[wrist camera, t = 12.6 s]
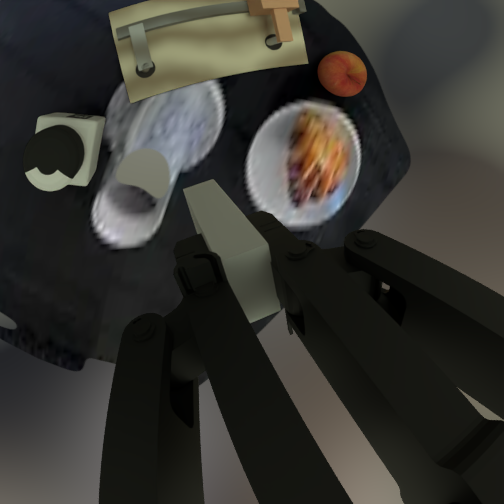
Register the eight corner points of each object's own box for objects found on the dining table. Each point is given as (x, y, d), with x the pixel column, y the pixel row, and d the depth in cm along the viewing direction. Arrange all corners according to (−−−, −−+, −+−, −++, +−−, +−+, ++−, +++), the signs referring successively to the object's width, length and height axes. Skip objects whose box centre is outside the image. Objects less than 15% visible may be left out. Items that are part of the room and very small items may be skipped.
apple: (339, 50, 38) (371, 47, 31) (349, 89, 42) (381, 93, 36) (302, 57, 37) (332, 53, 31) (314, 99, 41) (345, 103, 35)
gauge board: (109, 15, 25) (106, 8, 22) (287, -14, 30) (298, -20, 27) (131, 103, 33) (129, 103, 30) (304, 64, 38) (316, 62, 35)
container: (55, 111, 29) (20, 120, 19) (106, 117, 33) (90, 125, 22) (47, 166, 32) (13, 196, 22) (96, 171, 36) (79, 202, 25)
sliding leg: (242, -4, 28) (257, -16, 24) (275, -5, 29) (293, -16, 25) (254, 47, 33) (270, 42, 28) (286, 44, 34) (306, 39, 29)
